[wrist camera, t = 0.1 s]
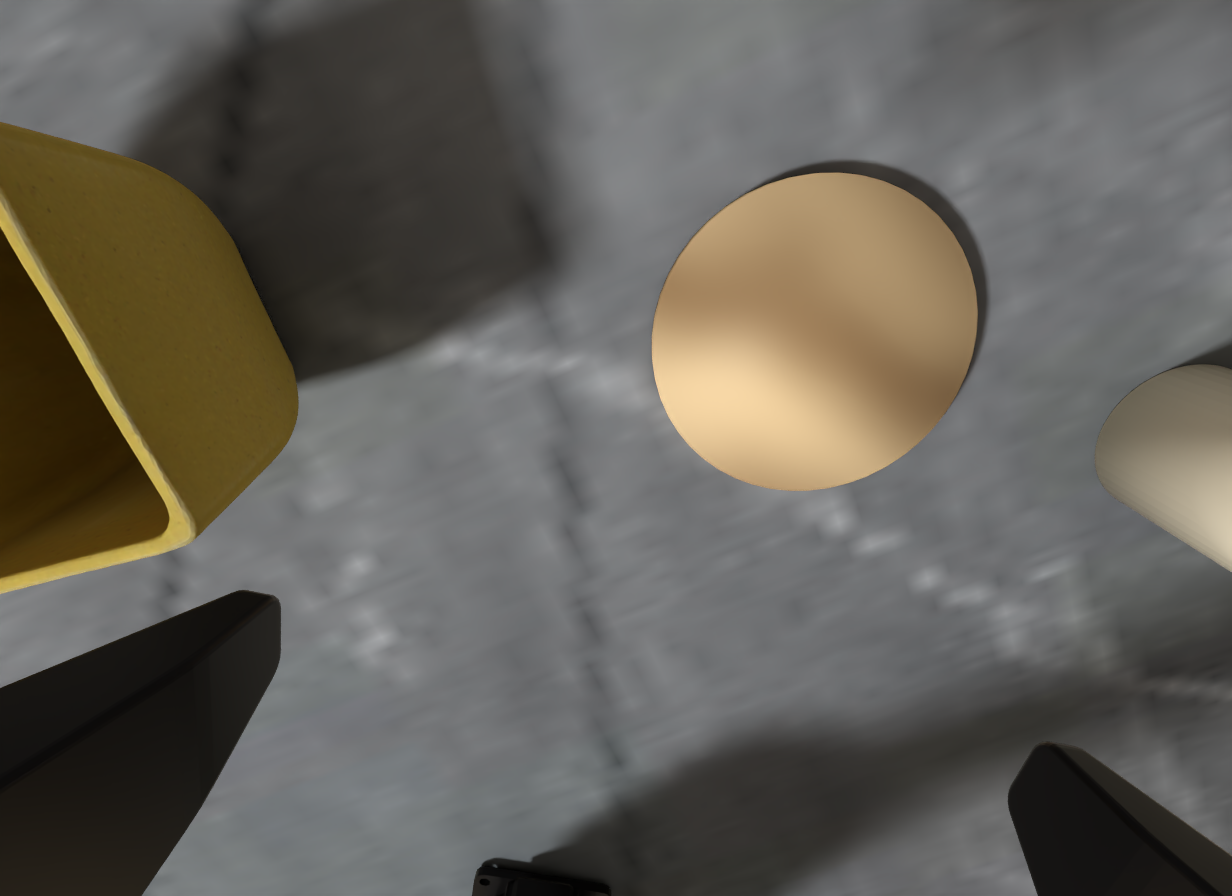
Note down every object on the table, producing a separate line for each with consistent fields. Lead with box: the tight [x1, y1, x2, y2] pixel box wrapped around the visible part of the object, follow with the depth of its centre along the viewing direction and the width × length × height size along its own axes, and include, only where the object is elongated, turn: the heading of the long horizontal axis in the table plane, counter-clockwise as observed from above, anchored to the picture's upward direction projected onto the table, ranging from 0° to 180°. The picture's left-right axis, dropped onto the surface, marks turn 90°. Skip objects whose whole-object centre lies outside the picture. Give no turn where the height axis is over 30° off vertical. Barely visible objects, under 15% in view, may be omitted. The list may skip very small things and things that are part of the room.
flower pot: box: [0, 122, 298, 594], centre depth 17 cm, size 9×9×9 cm
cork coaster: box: [652, 173, 978, 491], centre depth 20 cm, size 10×10×1 cm
